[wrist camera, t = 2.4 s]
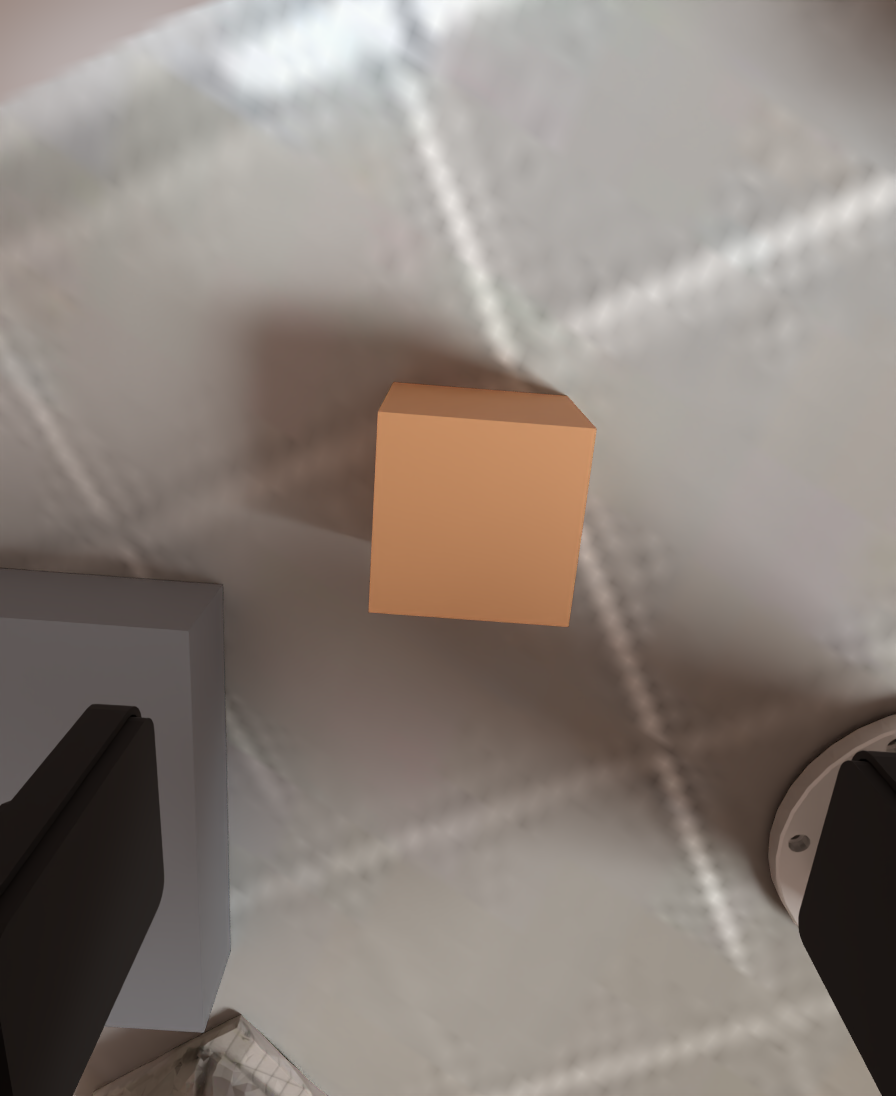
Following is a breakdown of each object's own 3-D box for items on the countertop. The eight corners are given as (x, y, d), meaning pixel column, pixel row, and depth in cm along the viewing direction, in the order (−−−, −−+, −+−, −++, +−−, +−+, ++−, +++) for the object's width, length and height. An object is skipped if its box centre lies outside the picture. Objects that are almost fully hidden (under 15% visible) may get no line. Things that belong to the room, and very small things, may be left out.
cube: (566, 395, 27) (596, 428, 21) (546, 557, 29) (568, 626, 23) (393, 381, 27) (377, 411, 21) (385, 545, 29) (368, 612, 23)
